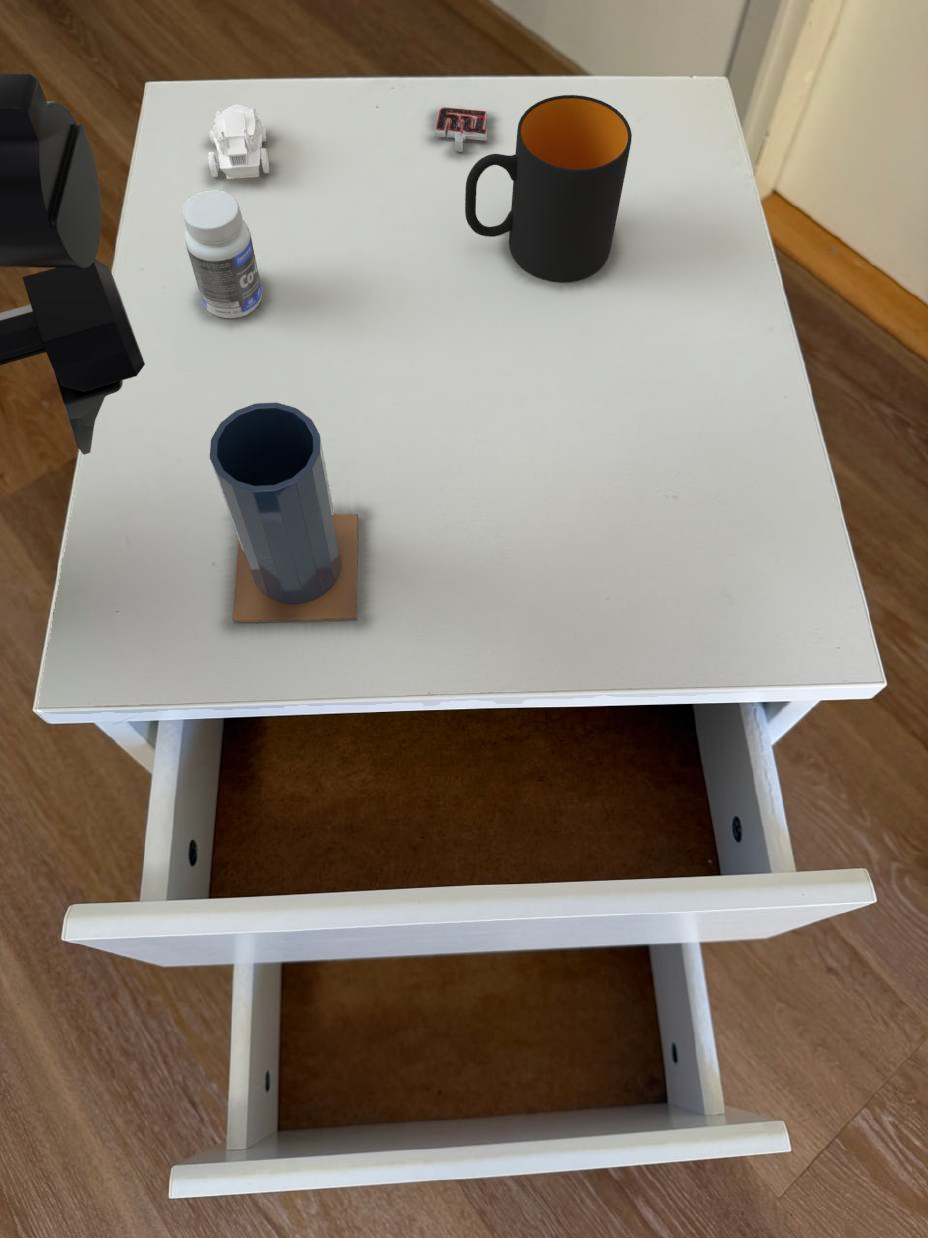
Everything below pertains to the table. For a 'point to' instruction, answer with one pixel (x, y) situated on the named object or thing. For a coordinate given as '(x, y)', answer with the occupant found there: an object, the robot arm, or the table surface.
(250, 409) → the cup
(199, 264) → the pill bottle
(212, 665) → the table surface
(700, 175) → the table surface
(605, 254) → the mug
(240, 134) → the toy car
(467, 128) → the pendant
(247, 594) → the cork coaster
